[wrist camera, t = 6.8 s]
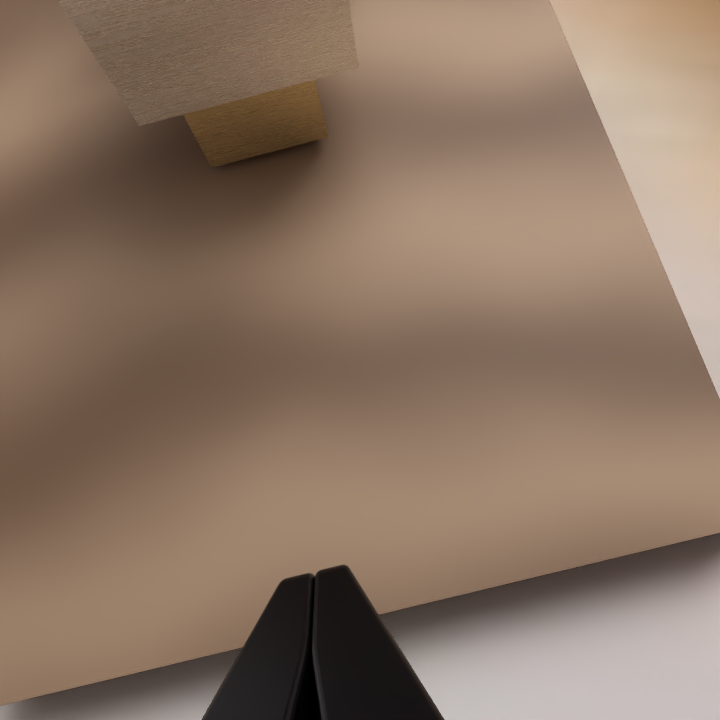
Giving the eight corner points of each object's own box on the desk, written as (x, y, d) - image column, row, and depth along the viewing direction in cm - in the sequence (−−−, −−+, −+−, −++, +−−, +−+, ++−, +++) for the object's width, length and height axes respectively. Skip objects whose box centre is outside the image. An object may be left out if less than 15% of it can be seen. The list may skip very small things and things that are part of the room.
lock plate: (738, 526, 14) (890, 497, 10) (28, 697, 15) (-166, 751, 10) (461, -152, 22) (468, -362, 17) (-10, -24, 22) (-133, -192, 17)
